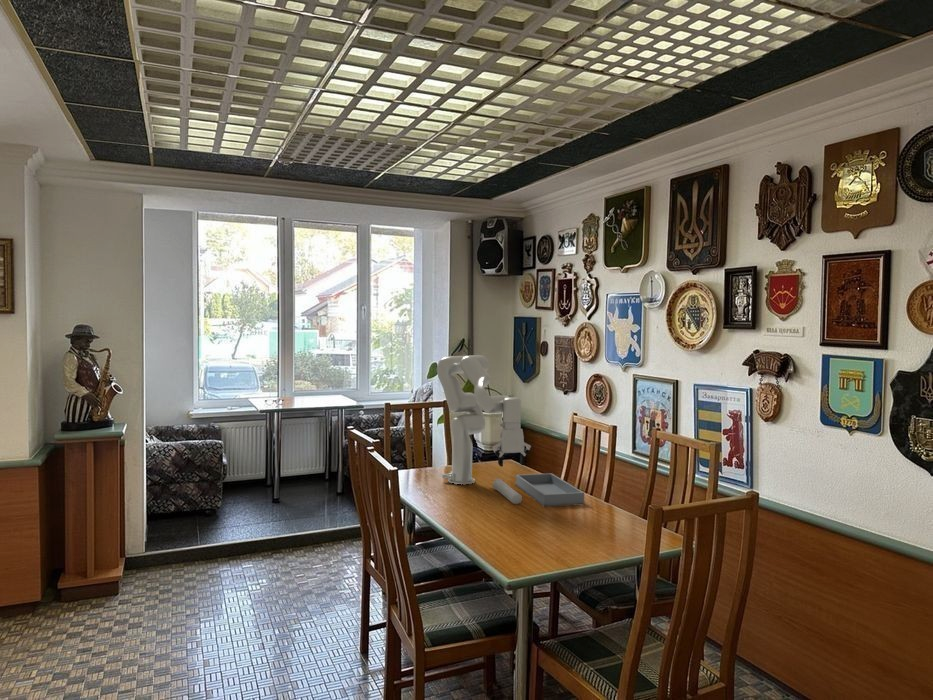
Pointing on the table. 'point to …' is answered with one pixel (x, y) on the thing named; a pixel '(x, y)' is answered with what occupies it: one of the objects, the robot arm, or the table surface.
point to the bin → (549, 489)
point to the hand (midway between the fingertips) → (511, 465)
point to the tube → (507, 491)
